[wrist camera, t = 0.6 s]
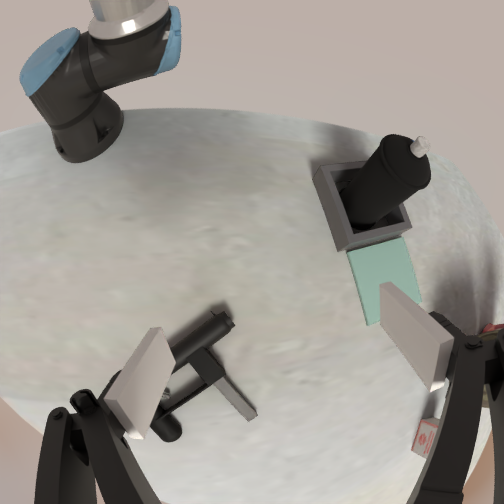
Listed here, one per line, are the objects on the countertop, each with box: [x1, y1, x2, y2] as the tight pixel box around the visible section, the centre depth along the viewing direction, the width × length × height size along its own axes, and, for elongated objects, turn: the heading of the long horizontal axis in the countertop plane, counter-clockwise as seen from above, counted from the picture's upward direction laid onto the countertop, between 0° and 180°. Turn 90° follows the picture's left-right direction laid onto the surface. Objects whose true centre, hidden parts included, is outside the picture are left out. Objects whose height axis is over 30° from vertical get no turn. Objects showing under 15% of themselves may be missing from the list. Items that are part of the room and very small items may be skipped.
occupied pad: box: [347, 237, 422, 326], centre depth 41 cm, size 12×12×1 cm
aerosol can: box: [339, 134, 431, 230], centre depth 34 cm, size 8×8×20 cm
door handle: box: [150, 311, 258, 442], centre depth 34 cm, size 3×20×16 cm
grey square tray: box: [312, 161, 412, 252], centre depth 42 cm, size 13×13×4 cm
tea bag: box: [411, 417, 440, 459], centre depth 30 cm, size 4×7×10 cm, turn 170°
